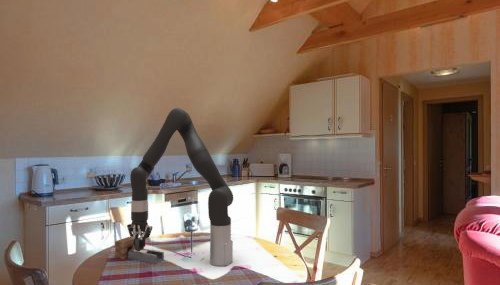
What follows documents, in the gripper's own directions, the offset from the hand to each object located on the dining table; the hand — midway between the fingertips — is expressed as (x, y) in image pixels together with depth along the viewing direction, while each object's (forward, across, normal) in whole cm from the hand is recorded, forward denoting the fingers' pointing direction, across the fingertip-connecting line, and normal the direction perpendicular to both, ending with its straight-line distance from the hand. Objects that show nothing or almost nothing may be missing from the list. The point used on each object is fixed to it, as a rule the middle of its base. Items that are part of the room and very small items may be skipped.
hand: (139, 246), depth 151 cm
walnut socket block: (+5, +8, 0) cm, 10 cm away
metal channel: (+5, -4, 0) cm, 6 cm away
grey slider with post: (+4, +2, 0) cm, 5 cm away
